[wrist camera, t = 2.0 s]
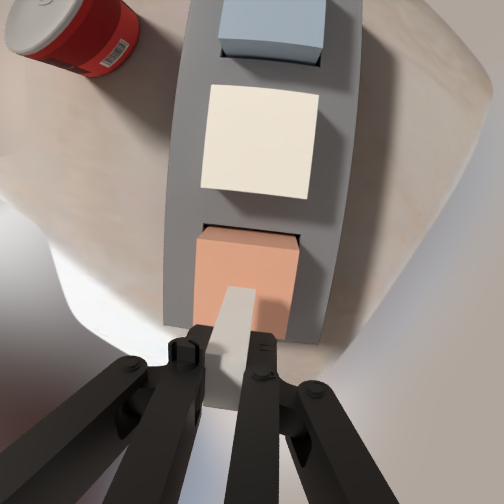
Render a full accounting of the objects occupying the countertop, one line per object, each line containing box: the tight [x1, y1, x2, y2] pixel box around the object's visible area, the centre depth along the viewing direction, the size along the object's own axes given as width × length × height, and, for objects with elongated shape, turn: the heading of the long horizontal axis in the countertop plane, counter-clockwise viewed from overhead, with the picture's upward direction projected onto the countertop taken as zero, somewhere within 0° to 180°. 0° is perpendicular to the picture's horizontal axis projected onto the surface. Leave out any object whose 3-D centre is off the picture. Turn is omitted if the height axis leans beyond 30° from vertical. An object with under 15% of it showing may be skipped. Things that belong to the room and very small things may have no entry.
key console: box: [163, 0, 362, 344], centre depth 23 cm, size 28×12×6 cm, turn 174°
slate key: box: [218, 0, 326, 66], centre depth 17 cm, size 6×6×5 cm
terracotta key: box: [193, 224, 300, 340], centre depth 22 cm, size 6×6×5 cm
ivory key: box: [201, 84, 319, 199], centre depth 19 cm, size 6×6×5 cm
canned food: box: [4, 0, 140, 77], centre depth 18 cm, size 8×8×11 cm
